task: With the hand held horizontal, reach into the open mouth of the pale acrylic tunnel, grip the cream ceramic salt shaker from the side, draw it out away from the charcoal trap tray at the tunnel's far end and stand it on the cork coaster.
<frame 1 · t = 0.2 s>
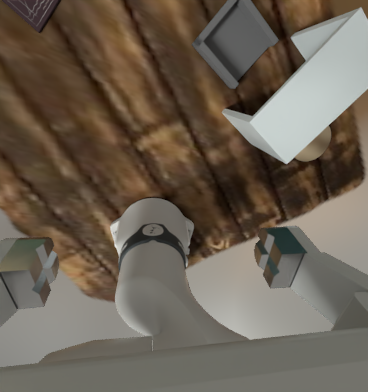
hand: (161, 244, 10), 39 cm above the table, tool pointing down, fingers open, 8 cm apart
coaster: (308, 140, 50), on the table
trap tray: (231, 43, 41), on the table
tunnel: (270, 92, 45), on the table
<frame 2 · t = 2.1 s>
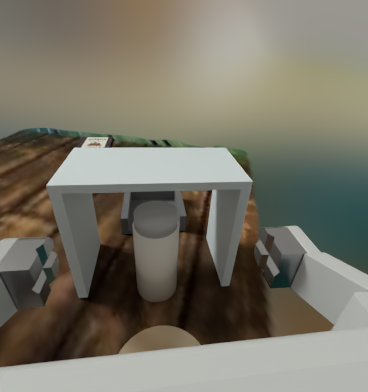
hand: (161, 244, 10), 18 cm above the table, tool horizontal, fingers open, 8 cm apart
shaker: (157, 284, 29), on the table
coaster: (161, 379, 21), on the table
trap tray: (153, 214, 42), on the table
tunnel: (156, 263, 32), on the table
chocolate bar: (93, 151, 68), on the table
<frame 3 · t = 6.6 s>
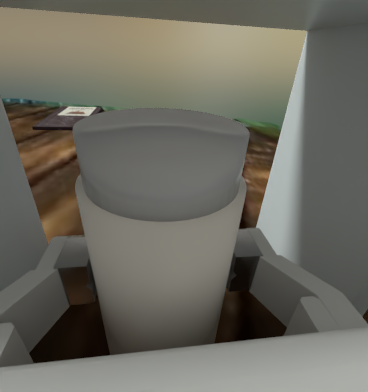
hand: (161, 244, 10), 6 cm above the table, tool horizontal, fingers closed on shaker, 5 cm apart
shaker: (162, 347, 12), on the table, touching gripper
tunnel: (159, 288, 15), on the table
chocolate bar: (74, 121, 50), on the table
when the fingers open (7 cm above the table, at t = 10.2 s): shaker stays where it is, resting on coaster.
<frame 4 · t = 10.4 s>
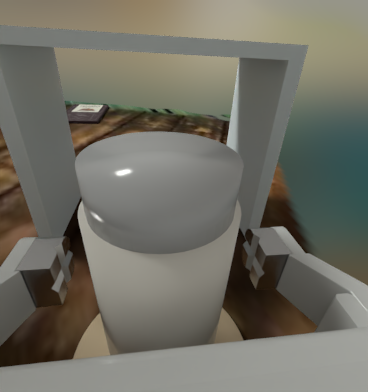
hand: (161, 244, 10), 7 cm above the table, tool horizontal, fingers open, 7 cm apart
shaker: (162, 355, 12), point 1 cm above the table, touching coaster
coaster: (162, 361, 13), on the table
tunnel: (154, 213, 24), on the table
chocolate bar: (85, 116, 59), on the table
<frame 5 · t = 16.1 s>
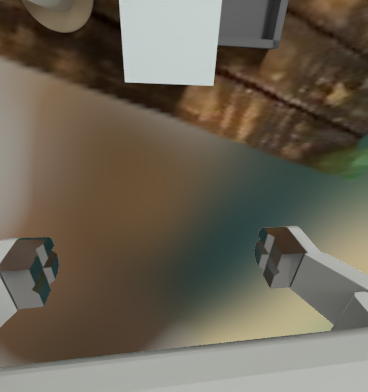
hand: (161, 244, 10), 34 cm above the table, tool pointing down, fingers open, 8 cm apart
trap tray: (243, 5, 34), on the table
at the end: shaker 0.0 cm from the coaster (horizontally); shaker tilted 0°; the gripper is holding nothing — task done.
